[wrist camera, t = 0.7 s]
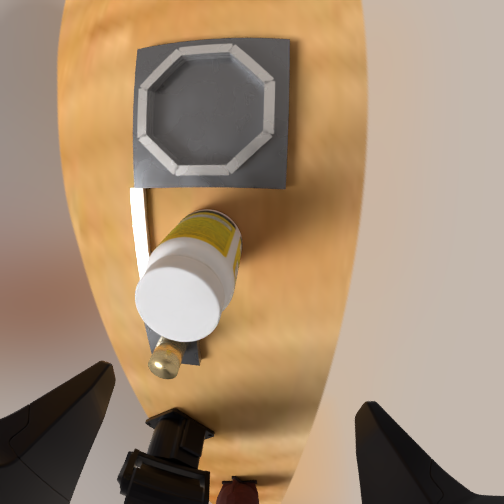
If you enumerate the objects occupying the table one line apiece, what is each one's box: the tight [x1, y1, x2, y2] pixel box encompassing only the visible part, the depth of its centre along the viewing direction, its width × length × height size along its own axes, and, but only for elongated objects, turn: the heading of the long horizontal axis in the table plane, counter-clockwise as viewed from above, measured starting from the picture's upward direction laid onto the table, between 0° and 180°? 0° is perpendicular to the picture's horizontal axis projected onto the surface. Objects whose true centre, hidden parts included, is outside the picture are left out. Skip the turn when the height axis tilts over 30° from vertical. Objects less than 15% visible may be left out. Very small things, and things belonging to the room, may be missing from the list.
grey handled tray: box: [130, 38, 290, 379], centre depth 17 cm, size 25×11×4 cm, turn 179°
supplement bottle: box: [135, 209, 242, 342], centre depth 16 cm, size 5×5×8 cm
